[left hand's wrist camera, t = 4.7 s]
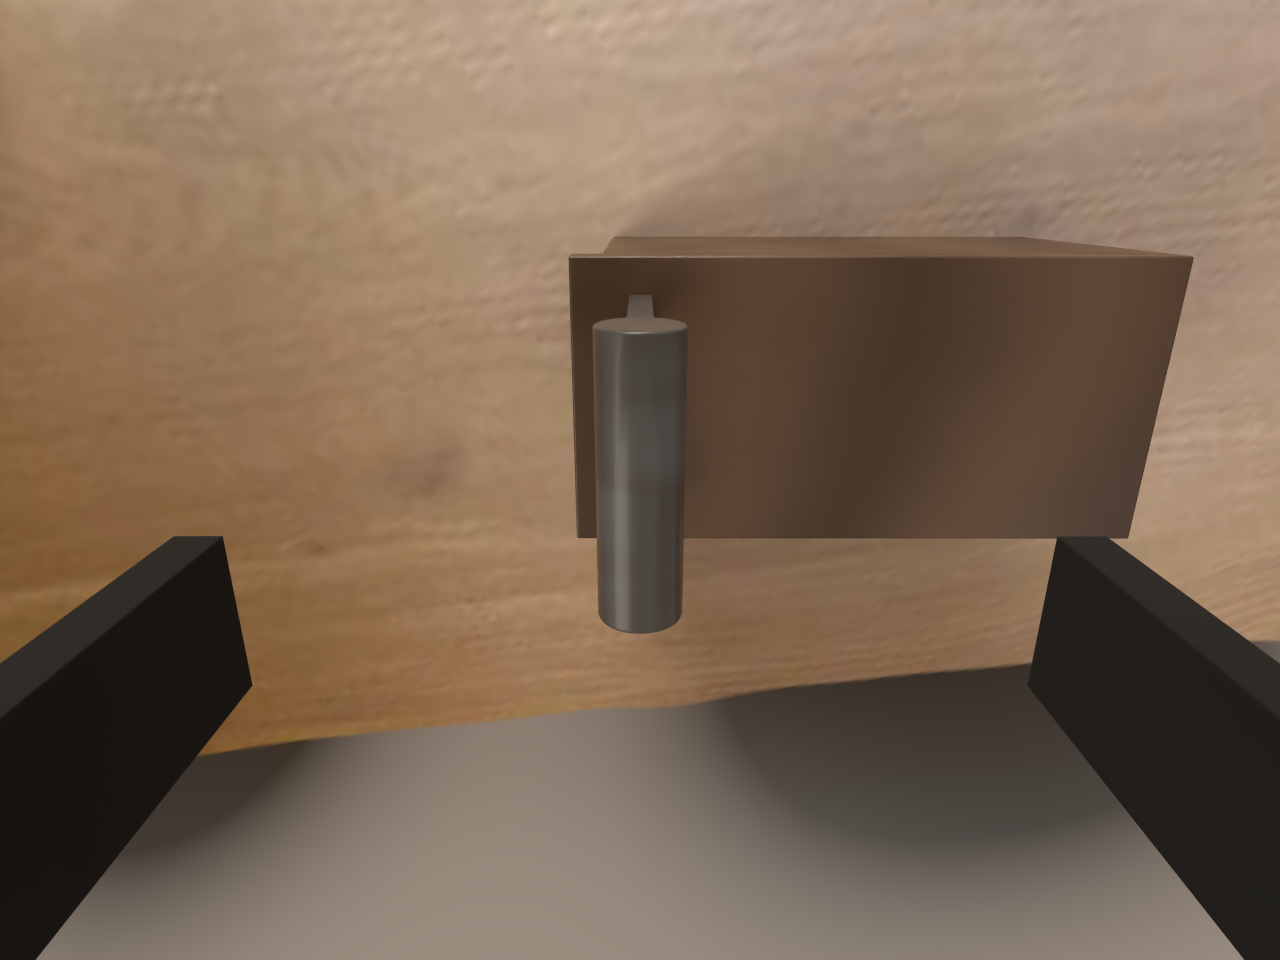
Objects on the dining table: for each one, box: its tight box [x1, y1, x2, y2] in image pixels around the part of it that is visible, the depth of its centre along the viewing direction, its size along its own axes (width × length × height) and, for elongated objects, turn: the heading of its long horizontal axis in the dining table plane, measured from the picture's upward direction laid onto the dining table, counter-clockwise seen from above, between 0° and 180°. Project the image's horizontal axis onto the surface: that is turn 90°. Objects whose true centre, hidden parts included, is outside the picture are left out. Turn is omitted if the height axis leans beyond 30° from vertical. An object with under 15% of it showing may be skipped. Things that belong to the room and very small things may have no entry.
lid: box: [569, 254, 1193, 634], centre depth 21 cm, size 18×9×9 cm, turn 90°
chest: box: [603, 237, 1168, 254], centre depth 30 cm, size 18×9×10 cm, turn 90°
